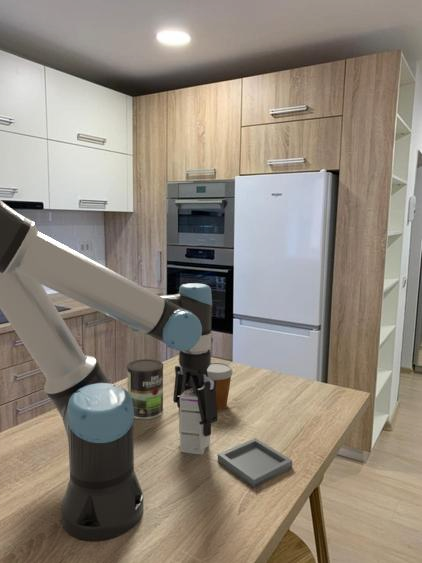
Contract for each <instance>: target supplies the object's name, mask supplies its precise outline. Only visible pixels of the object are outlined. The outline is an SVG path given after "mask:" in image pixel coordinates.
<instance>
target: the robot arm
mask: <svg viewBox="0 0 422 563" xmlns="http://www.w3.org/2000/svg"><path fill="white" fill-rule="evenodd" d="M44 287H46V288H49V289H50V290H52V291H54V292H57V293H58V294H61V295H62V296H66V297H67V298H70V299H72V300H74V301H76V302H77V303H80V304H82V305H85V306H87V307H88V308H91V309H93V310H95V311H98V312H99V313H102V314H104V315H105V316H108V317H111V318H112V319H114V320H117V321H119V322H121V323H122V324H125V325H127V326H128V327H129V329H130V330H131V331H133V332H134V333H135V332H142V333H145V334H146V335H148V336H149V337H152V338H154V339H156V340H158V341H160V342H162V343H164V344H165V345H166V346H167V347H168V348H171V349H172V350H175V351H179V352H178V365H175V367H174V372H175V378H174V387H173V388H174V390H173V398H172V399H173V403H174V404H175V403H176V404H177V408H178V421H179V422H178V429H179V430H178V433H179V435H180V396H181V394H182V393H183V391H185V390H187V389H190V388H193V392H194V394H196V396H197V398H198V406H199V411H200V416H201V420H202V421H201V422H199V448H200V449H203V448H205V447H206V448H207V447H211V446H210V445H211V434H212V424H214V423H216V422H218V421H219V417H218V415H219V414H218V410H217V402H216V384H217V382H216V380H215V379H214V380H211V379H209V378H208V373H207V369H208V367H209V366H210V364H211V363H212V362H211V360H212V351H211V350H210V349H211V348H212V347H211V346H212V344H211V343H212V308H213V300H212V299H213V298H212V296H213V294H212V288H211V287H210V285H208V284H205V283H197V282H195V283H183V284H181V285H180V286H179V288H178V290H179V291H178V293H174V294H165V295H164V294H163V295H158V294H156V293H155V292H153V291H151V290H150V289H147V288H145V287H144V286H142V285H139V284H138V283H136V282H135V281H132V280H130V279H129V278H127V277H125V276H123V275H122V274H120V273H117V272H115V271H114V270H112V269H110V268H108V267H106V266H104V265H103V264H101V263H98V262H97V261H95V260H93V259H91V258H89V257H87V255H83V254H81V253H80V252H78V251H76V250H74V249H72V248H70V247H69V246H67V245H65V244H63V243H61V242H59V241H57V240H55V239H53V238H51V237H50V236H48V235H46V234H44V233H42V232H40V231H39V230H38V229H37V226H36V224H35V221H33V220H31V219H30V218H28V217H26V216H24V215H23V214H21V213H19V212H17V211H16V210H14V209H13V208H11V207H10V206H9V205H8V204H6V203H5V202H3V201H2V200H1V199H0V310H1V312H2V313H3V315H4V316H5V318H6V319H7V321H8V322H9V324H10V326H11V327H12V329H13V330H14V332H15V333H16V334H17V336H18V338H19V339H20V341H21V343H22V344H23V345H24V347H25V348H26V350H27V352H28V353H29V354H30V356H31V358H32V359H33V361H34V362H35V364H36V365H37V366H38V368H39V369H40V371H41V372H42V374H43V376H44V377H45V378H46V379H45V383H44V386H43V387H44V388H43V389H44V392H45V394H46V395H47V396H48V398H49V400H50V401H51V403H52V404H53V405H54V407H55V409H56V410H57V411H58V413H59V416H60V417H61V419H62V422H63V425H64V430H65V433H66V437H67V442H68V460H69V462H68V463H69V464H68V465H69V481H68V484H67V486H66V490H65V493H64V496H63V500H62V503H61V509H60V515H61V516H60V517H61V525H62V528H63V530H64V531H66V533H67V534H69V535H70V536H71V537H74V538H75V539H79V540H82V541H90V542H93V541H95V542H97V541H104V540H105V541H106V540H109V539H113V538H116V537H119V536H120V535H122V534H124V533H126V532H128V531H129V530H130V529H132V528H133V527H134V526H135V525H136V524H137V523H138V522H139V521H140V519H141V517H142V516H143V512H144V503H145V502H144V493H143V490H142V487H141V485H140V482H139V479H138V476H137V475H136V472H135V464H134V463H135V462H134V461H135V460H134V459H135V454H134V453H135V450H134V448H135V447H134V446H135V442H134V437H135V436H134V419H135V418H134V407H133V402H132V398H131V396H130V394H129V393H128V390H126V389H125V388H123V387H122V386H120V385H117V386H116V385H115V383H112V382H111V380H110V379H109V378H108V376H107V375H106V373H105V372H104V370H103V369H102V367H101V365H100V364H99V363H98V360H97V359H96V358H95V356H92V355H86V354H84V352H83V350H82V349H81V347H80V345H79V344H78V342H77V340H76V339H75V337H74V335H73V334H72V332H71V331H70V329H69V327H68V326H67V324H66V322H65V320H64V319H63V318H62V317H63V316H61V314H60V313H59V311H58V309H57V308H56V306H55V305H54V302H53V301H52V299H51V298H50V296H49V294H48V293H47V291H46V289H45V288H44ZM200 388H203V389H200ZM198 389H200V390H198Z"/></svg>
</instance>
